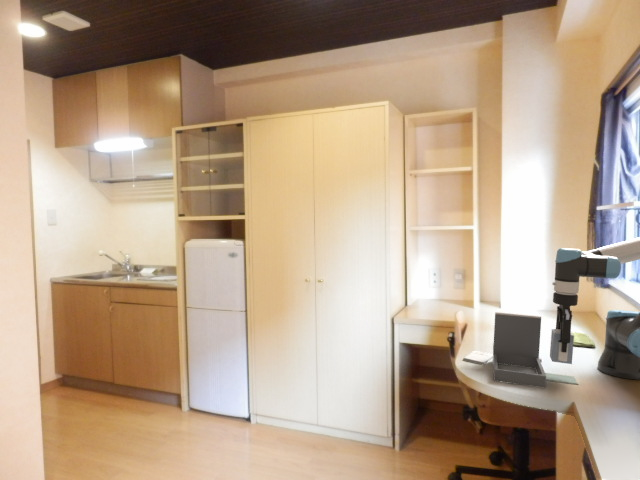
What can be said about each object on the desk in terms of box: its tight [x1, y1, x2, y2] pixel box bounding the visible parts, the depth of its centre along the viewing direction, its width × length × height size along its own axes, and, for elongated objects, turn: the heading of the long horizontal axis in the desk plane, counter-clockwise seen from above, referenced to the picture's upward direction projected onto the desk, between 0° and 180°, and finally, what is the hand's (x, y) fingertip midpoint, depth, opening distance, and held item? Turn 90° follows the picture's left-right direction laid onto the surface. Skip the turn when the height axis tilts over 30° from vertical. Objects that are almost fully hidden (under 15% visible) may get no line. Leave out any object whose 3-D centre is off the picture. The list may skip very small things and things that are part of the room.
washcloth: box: [571, 331, 596, 349], centre depth 205 cm, size 13×18×3 cm
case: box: [492, 311, 547, 389], centre depth 162 cm, size 17×21×20 cm
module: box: [549, 328, 574, 365], centre depth 158 cm, size 6×6×10 cm
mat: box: [545, 372, 579, 386], centre depth 159 cm, size 10×7×1 cm
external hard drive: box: [462, 350, 493, 366], centre depth 178 cm, size 2×8×12 cm
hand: (560, 357), depth 158 cm, fingers closed on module, 6 cm apart
